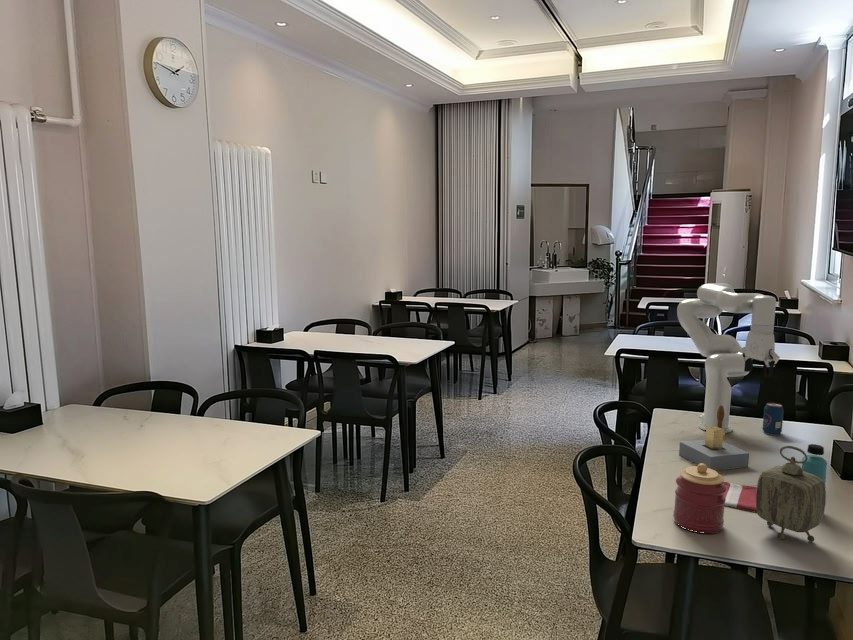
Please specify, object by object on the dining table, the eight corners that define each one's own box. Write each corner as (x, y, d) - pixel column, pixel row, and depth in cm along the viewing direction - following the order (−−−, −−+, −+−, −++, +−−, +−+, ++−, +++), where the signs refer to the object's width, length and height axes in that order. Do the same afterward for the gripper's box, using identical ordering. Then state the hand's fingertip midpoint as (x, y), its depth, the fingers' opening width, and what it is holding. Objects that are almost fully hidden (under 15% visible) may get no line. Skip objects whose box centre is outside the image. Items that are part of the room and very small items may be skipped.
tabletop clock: (821, 542, 168) (831, 451, 165) (805, 552, 163) (814, 458, 160) (766, 522, 180) (774, 436, 176) (749, 530, 175) (757, 442, 171)
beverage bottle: (822, 518, 183) (830, 451, 180) (796, 512, 186) (802, 446, 184) (823, 509, 188) (830, 444, 186) (797, 504, 192) (803, 440, 189)
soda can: (758, 430, 263) (761, 402, 261) (774, 430, 264) (776, 402, 262) (769, 436, 256) (771, 407, 255) (785, 435, 257) (788, 406, 255)
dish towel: (690, 480, 211) (691, 473, 210) (771, 496, 199) (771, 488, 198) (682, 498, 196) (682, 490, 196) (768, 517, 184) (768, 508, 184)
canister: (729, 537, 171) (734, 474, 168) (678, 532, 173) (682, 470, 170) (716, 516, 183) (721, 457, 181) (668, 512, 186) (672, 453, 183)
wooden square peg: (703, 459, 229) (706, 426, 228) (713, 458, 230) (715, 426, 229) (711, 463, 225) (714, 430, 224) (720, 462, 227) (723, 429, 225)
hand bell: (734, 447, 243) (737, 406, 240) (721, 451, 238) (725, 409, 236) (713, 441, 249) (716, 401, 247) (701, 444, 245) (704, 404, 242)
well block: (679, 454, 233) (680, 441, 232) (715, 451, 237) (716, 438, 237) (709, 470, 218) (710, 456, 217) (748, 466, 222) (749, 453, 222)
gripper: (736, 325, 244) (732, 369, 246) (772, 333, 227) (767, 380, 230) (752, 325, 246) (748, 368, 248) (789, 332, 229) (784, 379, 232)
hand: (757, 374), depth 239 cm, fingers open, 9 cm apart
